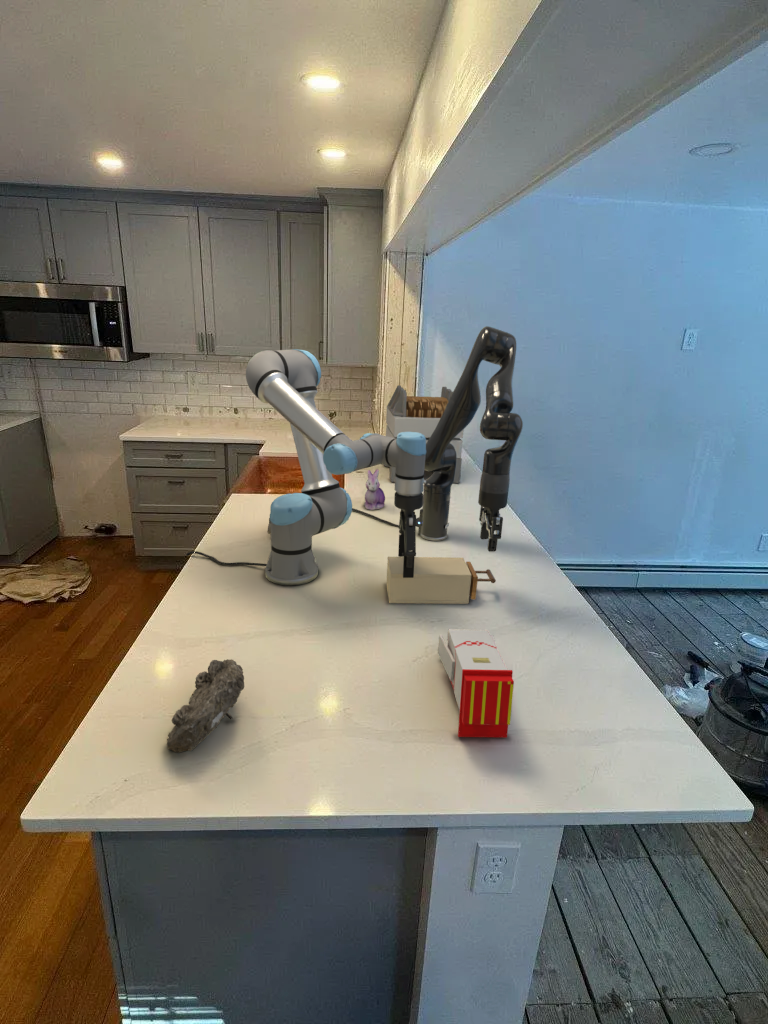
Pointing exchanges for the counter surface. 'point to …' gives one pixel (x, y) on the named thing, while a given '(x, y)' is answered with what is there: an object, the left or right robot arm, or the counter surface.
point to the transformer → (419, 420)
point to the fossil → (206, 705)
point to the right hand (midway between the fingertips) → (487, 544)
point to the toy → (478, 682)
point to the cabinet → (429, 581)
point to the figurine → (374, 492)
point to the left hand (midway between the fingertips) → (405, 566)
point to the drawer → (475, 578)
